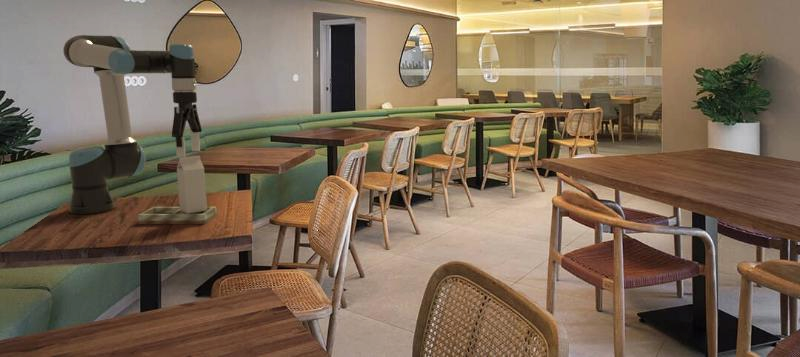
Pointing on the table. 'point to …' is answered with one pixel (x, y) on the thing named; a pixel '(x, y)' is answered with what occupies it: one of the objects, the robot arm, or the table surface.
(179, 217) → the board
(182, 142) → the robot arm
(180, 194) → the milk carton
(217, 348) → the table surface
